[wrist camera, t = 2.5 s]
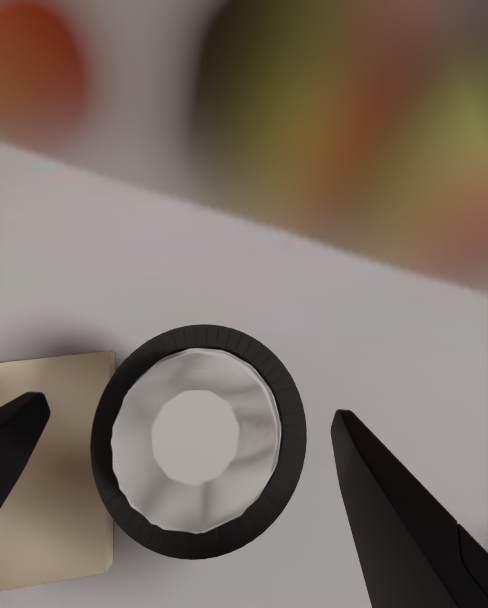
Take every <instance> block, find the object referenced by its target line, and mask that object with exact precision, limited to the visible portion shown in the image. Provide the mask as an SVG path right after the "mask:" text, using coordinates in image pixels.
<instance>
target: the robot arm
mask: <svg viewBox="0 0 488 608" xmlns="http://www.w3.org/2000/svg"><path fill="white" fill-rule="evenodd" d="M50 413H51V412H50V408H49V405H48V402H47V400H46V397H45V395H44V393H42V392H32V391H30V392H26V393H24V394H22V395H20V396H19V397H17V398H15V399H13V400H11V401H10V402H8V403H6V404H4V405H3V406H1V407H0V508H1V507H2V505H3V504H4V502H5V500H6V499H7V497H8V495H9V494H10V492H11V490H12V489H13V487H14V486H15V484H16V482H17V481H18V479H19V477H20V476H21V474H22V472H23V470H24V469H25V467H26V465H27V463H28V461H29V459H30V457H31V455H32V453H33V451H34V449H35V447H36V445H37V443H38V441H39V439H40V437H41V435H42V433H43V430H44V428H45V426H46V424H47V422H48V420H49V418H50ZM331 438H332V444H333V450H334V457H335V463H336V469H337V475H338V480H339V486H340V490H341V494H342V498H343V502H344V505H345V509H346V513H347V516H348V520H349V524H350V527H351V531H352V535H353V538H354V542H355V546H356V550H357V553H358V557H359V561H360V564H361V568H362V572H363V575H364V579H365V583H366V586H367V590H368V594H369V598H370V601H371V605H372V608H488V552H487V551H486V550H485V549H484V548H483V547H482V546H481V545H480V544H479V543H478V542H477V541H476V540H475V539H474V538H473V537H472V536H471V535H470V534H469V533H468V532H467V531H466V530H465V529H464V528H463V527H462V526H461V525H460V524H457V521H456V520H455V519H454V517H453V516H452V515H451V514H450V513H449V512H448V511H447V510H446V509H445V508H444V507H443V506H442V505H441V504H440V503H439V502H438V501H437V500H436V499H435V498H434V497H433V496H432V494H431V493H430V492H429V491H428V490H427V489H426V488H425V487H424V486H423V485H422V484H421V483H420V482H419V481H418V480H417V479H416V478H415V477H414V476H413V475H412V474H411V473H410V472H409V470H408V469H407V468H406V467H405V466H404V465H403V464H402V463H401V462H400V461H399V460H398V459H397V458H396V457H395V456H394V455H393V454H392V453H391V452H390V451H389V450H388V449H387V447H386V446H385V445H384V444H383V443H382V442H381V441H380V440H379V439H378V438H377V437H376V436H375V435H374V434H373V433H372V432H371V431H370V430H369V429H368V428H367V427H366V426H365V425H364V423H363V422H362V421H361V420H360V419H359V418H358V417H357V416H356V415H355V414H354V413H353V412H352V411H350V410H342V409H338V410H337V411H336V413H335V416H334V419H333V422H332V425H331Z"/></svg>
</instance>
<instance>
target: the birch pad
mask: <svg viewBox="0 0 488 608" xmlns="http://www.w3.org/2000/svg"><path fill="white" fill-rule="evenodd" d="M114 373H115V352H112V351H102V352H93V353H84V354H75V355H66V356H57V357H48V358H39V359H31V360H22V361H13V362H4V363H0V407H1V406H3V405H4V404H6V403H8V402H10V401H11V400H13V399H15V398H17V397H19V396H20V395H22V394H24V393H26V392H30V391H32V392H42V393H44V395H45V397H46V400H47V402H48V405H49V408H50V412H51V413H50V418H49V420H48V422H47V424H46V426H45V428H44V430H43V433H42V435H41V437H40V439H39V441H38V443H37V445H36V447H35V449H34V451H33V453H32V455H31V457H30V459H29V461H28V463H27V465H26V467H25V469H24V470H23V472H22V474H21V476H20V477H19V479H18V481H17V482H16V484H15V486H14V487H13V489H12V490H11V492H10V494H9V495H8V497H7V499H6V500H5V502H4V504H3V505H2V507H1V508H0V591H3V590H9V589H15V588H21V587H27V586H33V585H39V584H45V583H51V582H57V581H63V580H68V579H74V578H80V577H86V576H92V575H98V574H104V573H106V572H107V570H108V569H109V567H110V566H111V565H112V563H113V518H112V517H111V515H110V514H109V512H108V511H107V509H106V507H105V505H104V503H103V502H102V500H101V497H100V495H99V492H98V490H97V487H96V484H95V480H94V476H93V472H92V465H91V454H90V442H91V431H92V424H93V420H94V416H95V412H96V409H97V406H98V403H99V400H100V398H101V396H102V393H103V391H104V389H105V387H106V386H107V384H108V382H109V380H110V379H111V377H112V376H113V374H114Z"/></svg>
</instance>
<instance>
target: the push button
mask: <svg viewBox="0 0 488 608" xmlns="http://www.w3.org/2000/svg"><path fill="white" fill-rule="evenodd" d="M306 441H307V436H306V420H305V413H304V409H303V404H302V401H301V398H300V395H299V392H298V390H297V387H296V385H295V383H294V381H293V379H292V377H291V375H290V374H289V372H288V371H287V369H286V368H285V366H284V365H283V363H282V362H281V361H280V360H279V359H278V358H277V356H276V355H275V354H274V353H273V352H272V351H270V350H269V349H268V348H267V347H266V346H265V345H263V344H262V343H261V342H259V341H258V340H256V339H254V338H253V337H251V336H249V335H247V334H245V333H243V332H240V331H238V330H235V329H232V328H228V327H224V326H217V325H203V324H202V325H190V326H184V327H180V328H176V329H173V330H170V331H167V332H165V333H162V334H160V335H158V336H156V337H154V338H152V339H151V340H149V341H147V342H146V343H144V344H143V345H141V346H140V347H139V348H138V349H136V350H135V351H134V352H133V353H132V354H131V355H130V356H129V357H128V358H126V359H125V361H124V362H123V363H122V364H121V365H120V366H119V367H118V369H117V370H116V372H115V373H114V374H113V376H112V377H111V379H110V380H109V382H108V384H107V386H106V387H105V389H104V391H103V393H102V396H101V398H100V400H99V403H98V406H97V409H96V412H95V416H94V420H93V424H92V431H91V442H90V454H91V465H92V472H93V476H94V480H95V484H96V487H97V490H98V492H99V495H100V497H101V500H102V502H103V503H104V505H105V507H106V509H107V511H108V512H109V514H110V515H111V517H112V518H113V520H114V521H115V522H116V523H117V524H118V525H119V527H120V528H121V529H122V530H123V531H124V532H125V533H126V534H127V535H129V536H130V537H131V538H132V539H133V540H135V541H136V542H138V543H139V544H141V545H142V546H144V547H146V548H148V549H150V550H152V551H154V552H156V553H159V554H162V555H165V556H168V557H173V558H178V559H190V560H195V559H207V558H213V557H218V556H221V555H224V554H227V553H230V552H232V551H235V550H237V549H239V548H241V547H243V546H245V545H246V544H248V543H250V542H251V541H253V540H254V539H255V538H257V537H258V536H259V535H261V534H262V533H263V532H264V531H265V530H266V529H267V528H268V527H269V526H270V525H271V524H272V523H273V522H274V521H275V520H276V519H277V517H278V516H279V515H280V514H281V513H282V511H283V510H284V508H285V507H286V505H287V504H288V502H289V500H290V498H291V496H292V494H293V493H294V491H295V488H296V486H297V483H298V481H299V478H300V475H301V471H302V468H303V464H304V458H305V453H306Z"/></svg>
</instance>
